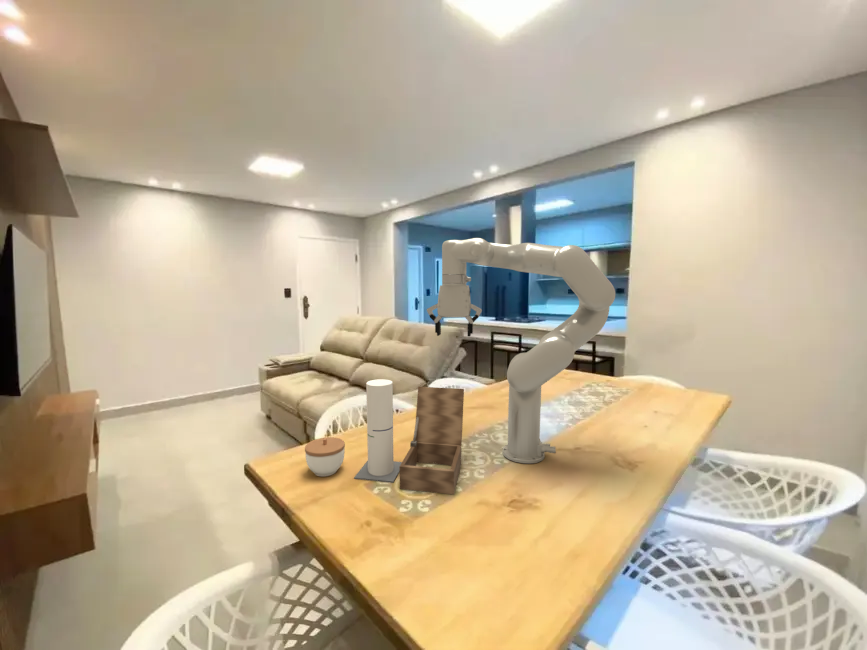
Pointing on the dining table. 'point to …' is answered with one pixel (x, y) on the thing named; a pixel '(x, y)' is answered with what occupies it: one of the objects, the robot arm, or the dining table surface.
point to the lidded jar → (325, 455)
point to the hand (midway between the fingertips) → (453, 335)
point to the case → (435, 441)
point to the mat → (365, 475)
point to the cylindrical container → (380, 426)
